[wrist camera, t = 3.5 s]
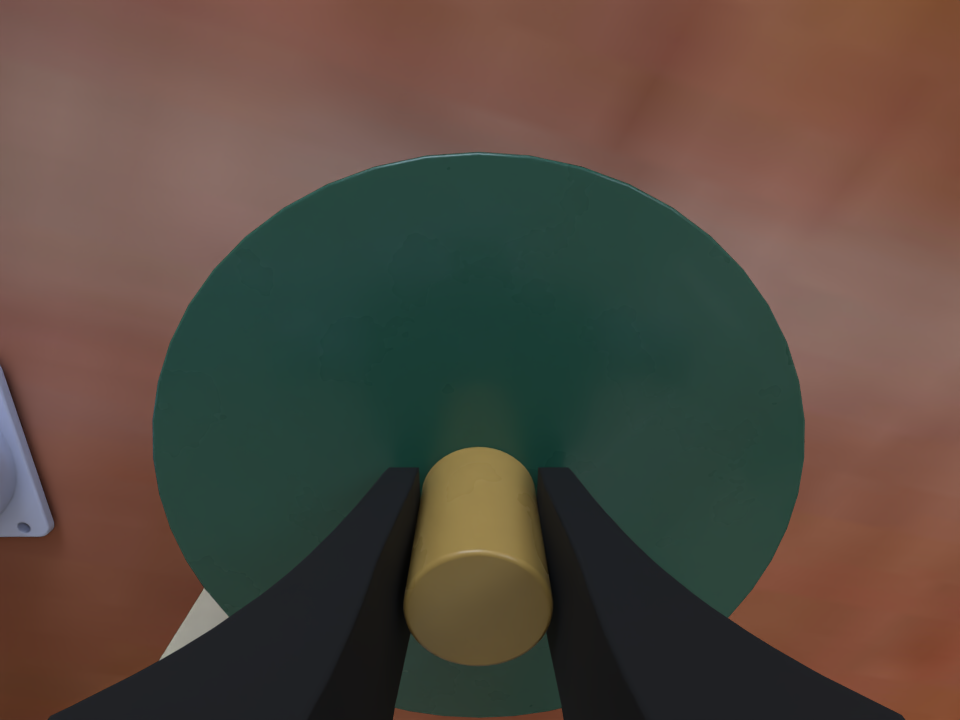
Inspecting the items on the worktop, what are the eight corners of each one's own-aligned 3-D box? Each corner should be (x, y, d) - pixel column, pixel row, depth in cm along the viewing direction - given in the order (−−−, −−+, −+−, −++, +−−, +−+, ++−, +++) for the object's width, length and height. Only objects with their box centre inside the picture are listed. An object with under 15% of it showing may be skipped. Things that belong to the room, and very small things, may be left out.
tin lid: (231, 680, 15) (143, 870, 11) (113, 151, 10) (-120, 155, 6) (726, 680, 15) (814, 870, 11) (843, 151, 10) (1073, 154, 6)
